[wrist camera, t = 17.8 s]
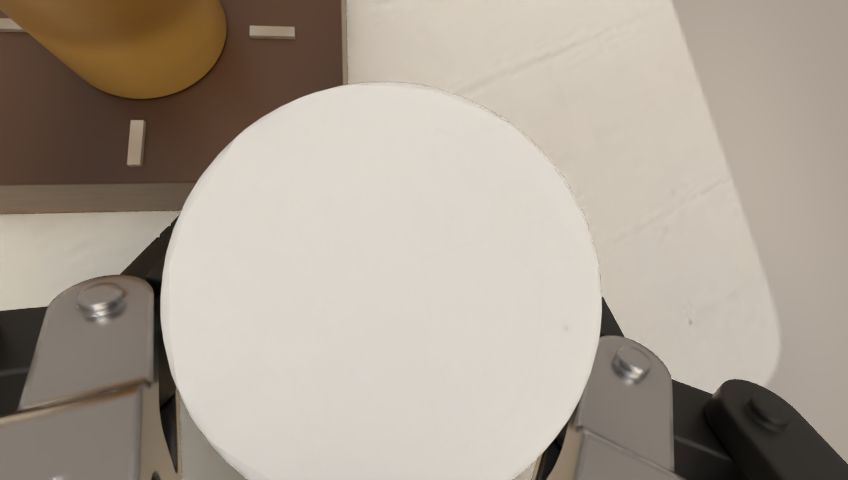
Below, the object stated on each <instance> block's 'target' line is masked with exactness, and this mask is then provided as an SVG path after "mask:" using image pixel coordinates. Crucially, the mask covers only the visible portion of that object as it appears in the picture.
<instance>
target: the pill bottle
mask: <svg viewBox="0 0 848 480" xmlns="http://www.w3.org/2000/svg"><path fill="white" fill-rule="evenodd" d="M601 317H602V294H601V277H600V270H599V264H598V258H597V253H596V249H595V246H594V243H593V239H592V236H591V233H590V230H589V227H588V223H587V221H586V219H585V217H584V215H583V212H582V210H581V208H580V206H579V204H578V202H577V200H576V198H575V196H574V194H573V193H572V191H571V190H570V188H569V186H568V185H567V183H566V181H565V180H564V178H563V177H562V175H561V174H560V172H559V171H558V170H557V168H556V167H555V165H554V164H553V163H552V162H551V161H550V160H549V159H548V158H547V157H546V155H545V154H544V153H543V152H542V151H541V150H540V149H539V148H538V147H537V146H536V145H535V144H534V143H533V142H532V141H531V140H530V139H529V138H528V137H527V136H526V135H524V134H523V133H522V132H521V131H519V130H518V129H517V128H516V127H515V126H513V125H512V124H511V123H509V122H508V121H506V120H505V119H503V118H502V117H500V116H498V115H497V114H495V113H494V112H492V111H490V110H488V109H487V108H485V107H483V106H481V105H479V104H477V103H475V102H473V101H471V100H469V99H467V98H464V97H461V96H458V95H455V94H452V93H449V92H446V91H443V90H440V89H436V88H432V87H429V86H425V85H418V84H412V83H402V82H366V83H357V84H349V85H342V86H338V87H334V88H330V89H326V90H322V91H319V92H315V93H312V94H309V95H306V96H304V97H301V98H299V99H296V100H294V101H292V102H290V103H288V104H285V105H283V106H281V107H279V108H277V109H276V110H274V111H272V112H270V113H269V114H267V115H265V116H263V117H262V118H260V119H259V120H257V121H256V122H255V123H253V124H252V125H250V126H249V127H248V128H246V129H245V130H244V131H243V132H241V133H240V134H239V135H238V136H237V137H236V138H235V139H234V140H233V141H232V142H231V143H229V144H228V145H227V146H226V147H225V148H224V149H223V150H222V151H221V152H220V153H219V154H218V156H217V157H216V158H215V159H214V161H213V162H212V163H211V164H210V165H209V167H208V168H207V169H206V170H205V172H204V173H203V174H202V176H201V177H200V178H199V180H198V181H197V183H196V185H195V186H194V188H193V190H192V191H191V193H190V194H189V196H188V198H187V199H186V201H185V204H184V206H183V208H182V211H181V213H180V215H179V217H178V220H177V222H176V224H175V226H174V229H173V232H172V235H171V239H170V242H169V245H168V248H167V252H166V257H165V263H164V269H163V275H162V285H161V296H160V319H161V327H162V335H163V341H164V346H165V350H166V354H167V358H168V362H169V367H170V371H171V375H172V377H173V380H174V382H175V385H176V387H177V390H178V392H179V395H180V397H181V400H182V401H183V403H184V405H185V407H186V409H187V410H188V412H189V414H190V416H191V418H192V419H193V421H194V423H195V424H196V426H197V427H198V428H199V430H200V431H201V432H202V434H203V435H204V437H205V438H206V439H207V441H208V442H209V444H210V445H211V446H212V447H213V448H214V449H215V450H216V451H217V452H218V454H219V455H220V456H221V457H222V458H223V459H224V460H225V461H226V462H227V463H228V464H229V465H230V466H232V467H233V468H234V469H235V470H236V471H238V472H239V473H240V474H241V475H242V476H243V477H245V478H246V479H247V480H513V479H514V478H515V477H517V476H518V475H519V474H521V473H522V472H523V471H524V470H526V469H527V468H528V467H529V466H530V465H531V464H533V462H534V461H535V460H536V459H537V458H538V457H539V456H540V455H541V454H542V453H543V452H544V451H545V450H546V449H547V448H548V446H549V445H550V444H551V443H552V442H553V440H554V439H555V438H556V437H557V435H558V434H559V432H560V431H561V430H562V428H563V427H564V426H565V424H566V423H567V421H568V420H569V418H570V417H571V415H572V413H573V411H574V409H575V408H576V406H577V404H578V402H579V400H580V398H581V396H582V393H583V391H584V388H585V386H586V383H587V381H588V378H589V376H590V373H591V370H592V366H593V362H594V358H595V355H596V351H597V347H598V342H599V336H600V329H601Z"/></svg>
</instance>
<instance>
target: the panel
mask: <svg viewBox="0 0 848 480" xmlns="http://www.w3.org/2000/svg"><path fill="white" fill-rule="evenodd" d="M220 3H221V5H222V7H223V9H224V13H225V17H226V25H227V29H226V39H225V44H224V47H223V50H222V52H221V54H220V56H219V58H218V60H217V62H216V63H215V64H214V66H213V67H212V68H211V69H210V71H209V72H208V73H207V74H206V75H205V76H203V77H202V78H201V79H200V80H198V81H197V82H196V83H194V84H193V85H191V86H189V87H188V88H186V89H183V90H181V91H179V92H177V93H174V94H171V95H167V96H163V97H158V98H149V99H133V98H125V97H120V96H116V95H112V94H109V93H106V92H104V91H101V90H99V89H97V88H95V87H94V86H92V85H90V84H89V83H87V82H86V81H85V80H83V79H82V78H81V77H80V76H78V75H77V74H76V73H75V72H74V71H72V70H71V69H70V68H69V67H68V66H66V65H65V64H64V63H63V62H62V61H61V60H59V59H58V58H57V57H56V56H55V55H53V54H52V53H51V52H50V51H49V50H47V49H46V48H45V47H44V46H43V45H41V44H40V43H39V42H38V41H37V40H35V39H34V38H33V37H32V36H31V35H29V34H28V33H27V32H26V31H25V30H24V29H22V28H21V27H20V26H19V25H18V24H16V23H15V22H14V21H13V20H12V19H10V18H9V17H8V16H7V15H6V14H4V13H3V12H2V11H1V10H0V214H23V213H68V212H113V211H158V210H182V208H183V206H184V204H185V201H186V199H187V198H188V196H189V194H190V193H191V191H192V190H193V188H194V186H195V185H196V183H197V181H198V180H199V178H200V177H201V176H202V174H203V173H204V172H205V170H206V169H207V168H208V167H209V165H210V164H211V163H212V162H213V161H214V159H215V158H216V157H217V156H218V154H219V153H220V152H221V151H222V150H223V149H224V148H225V147H226V146H227V145H228V144H229V143H231V142H232V141H233V140H234V139H235V138H236V137H237V136H238V135H239V134H240V133H241V132H243V131H244V130H245V129H246V128H248V127H249V126H250V125H252V124H253V123H255V122H256V121H257V120H259V119H260V118H262V117H263V116H265V115H267V114H269V113H270V112H272V111H274V110H276V109H277V108H279V107H281V106H283V105H285V104H288V103H290V102H292V101H294V100H296V99H299V98H301V97H304V96H306V95H309V94H312V93H315V92H319V91H322V90H326V89H330V88H334V87H338V86H342V85H348V63H347V18H346V0H220Z"/></svg>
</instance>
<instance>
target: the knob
mask: <svg viewBox="0 0 848 480" xmlns="http://www.w3.org/2000/svg"><path fill="white" fill-rule="evenodd" d="M0 10H1V11H2V12H3V13H4V14H6V15H7V16H8V17H9V18H10V19H12V20H13V21H14V22H15V23H16V24H18V25H19V26H20V27H21V28H22V29H24V30H25V31H26V32H27V33H28V34H29V35H31V36H32V37H33V38H34V39H35V40H37V41H38V42H39V43H40V44H41V45H43V46H44V47H45V48H46V49H47V50H49V51H50V52H51V53H52V54H53V55H55V56H56V57H57V58H58V59H59V60H61V61H62V62H63V63H64V64H65V65H66V66H68V67H69V68H70V69H71V70H72V71H74V72H75V73H76V74H77V75H78V76H80V77H81V78H82V79H83V80H85V81H86V82H87V83H89V84H90V85H92V86H94V87H95V88H97V89H99V90H101V91H104V92H106V93H109V94H112V95H116V96H120V97H125V98H133V99H149V98H158V97H163V96H167V95H171V94H174V93H177V92H179V91H181V90H183V89H186V88H188V87H189V86H191V85H193V84H194V83H196V82H197V81H198V80H200V79H201V78H202V77H203V76H205V75H206V74H207V73H208V72H209V71H210V69H211V68H212V67H213V66H214V64H215V63H216V62H217V60H218V58H219V56H220V54H221V52H222V50H223V47H224V44H225V39H226V29H227V25H226V17H225V13H224V9H223V7H222V5H221V3H220V0H0Z"/></svg>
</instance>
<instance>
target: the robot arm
mask: <svg viewBox="0 0 848 480" xmlns="http://www.w3.org/2000/svg"><path fill="white" fill-rule="evenodd" d="M178 217H179V216H178ZM178 217H177V218H176V219H175V220H174V221H173V222H172V223H171V226H168V227H167V228H166V229H165V230H164V231H163V232H162V233H161V234H160V238H158V237H157V238H156V239H155V240H154V241H153V242H152V243H151V244H150V245H149V246H148V247H147V248H146V249H145V250H144V251H143V252H142V253H141V254H140V255H139V256H138V257H137V258H136V259H135V260H134V261H133V262H132V263H131V264H130V265H129V266H128V267H127V268H126V269H125V270H124V271H123V272H122V273H121V274H120V275H109V276H102V277H97V278H93V279H89V280H86V281H84V282H81V283H78V284H76V285H74V286H72V287H70V288H68V289H66V290H65V291H63V292H62V293H61V294H59V295H58V296H57V297H56V298H55V299H54V300H53V301H52V302H51V303H50V305H49V306H48V307H39V308H28V309H17V310H6V311H0V480H182V455H181V429H180V403H179V393H178V390H177V387H176V385H175V382H174V380H173V377H172V375H171V371H170V367H169V362H168V358H167V354H166V350H165V346H164V341H163V335H162V327H161V319H160V296H161V285H162V275H163V269H164V263H165V257H166V252H167V248H168V245H169V242H170V239H171V235H172V232H173V229H174V226H175V224H176V222H177V220H178ZM531 480H848V464H847V463H846V462H845V461H844V460H843V459H842V458H841V457H840V456H839V455H838V454H837V453H836V452H835V450H834V449H832V447H831V446H830V445H829V444H828V443H827V442H826V441H825V440H824V439H823V438H822V437H821V436H820V435H819V434H818V433H817V432H816V431H815V429H814V428H813V427H812V426H811V425H810V424H809V423H808V422H807V421H806V420H805V419H804V418H803V417H802V416H801V415H800V414H799V413H798V412H797V411H796V410H795V409H794V408H793V407H792V406H791V405H790V404H788V403H787V402H786V401H785V400H783V399H782V398H781V397H779V396H778V395H776V394H775V393H773V392H771V391H770V390H768V389H766V388H764V387H762V386H759V385H757V384H755V383H752V382H749V381H745V380H738V379H733V380H728V381H726V382H724V383H723V384H722V385H721V386H720V388H719V389H718V390H717V391H716V392H715V393H714V395H713V394H710V393H708V392H705V391H702V390H699V389H697V388H694V387H691V386H689V385H686V384H683V383H680V382H678V381H675V380H673V379H671V375H670V373H669V371H668V369H667V367H666V366H665V365H664V363H663V362H662V361H661V360H660V359H659V358H658V357H657V356H656V355H655V354H654V353H653V352H652V351H650V350H649V349H647V348H646V347H644V346H643V345H641V344H639V343H637V342H635V341H633V340H630V339H628V338H625V337H624V335H623V333H622V332H621V330H620V328H619V326H618V324H617V322H616V320H615V319H614V317H613V315H612V313H611V311H610V309H609V307H608V306H607V304H606V302H605V300H604V298H603V297H602V317H601V329H600V336H599V342H598V347H597V351H596V355H595V358H594V362H593V366H592V370H591V373H590V376H589V378H588V381H587V383H586V386H585V388H584V391H583V393H582V396H581V398H580V400H579V402H578V404H577V406H576V408H575V409H574V411H573V413H572V415H571V417H570V418H569V420H568V421H567V423H566V424H565V426H564V427H563V428H562V430H561V431H560V432H559V434H558V435H557V437H556V438H555V439H554V440H553V442H552V443H551V444H550V445H549V446H548V448H547V449H546V450H545V451H544V452H543V453H542V454H541V455H540V456H539V457H538V458H537V461H536V464H535V468H534V471H533V475H532V478H531Z"/></svg>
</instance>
